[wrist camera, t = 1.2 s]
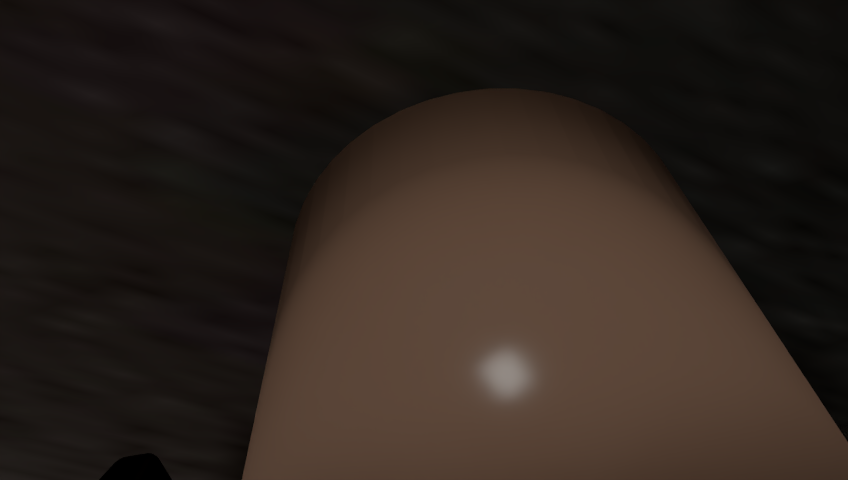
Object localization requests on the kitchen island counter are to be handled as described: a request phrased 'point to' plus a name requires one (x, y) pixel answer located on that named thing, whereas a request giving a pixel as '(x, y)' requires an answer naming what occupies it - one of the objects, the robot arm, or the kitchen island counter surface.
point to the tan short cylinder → (522, 315)
